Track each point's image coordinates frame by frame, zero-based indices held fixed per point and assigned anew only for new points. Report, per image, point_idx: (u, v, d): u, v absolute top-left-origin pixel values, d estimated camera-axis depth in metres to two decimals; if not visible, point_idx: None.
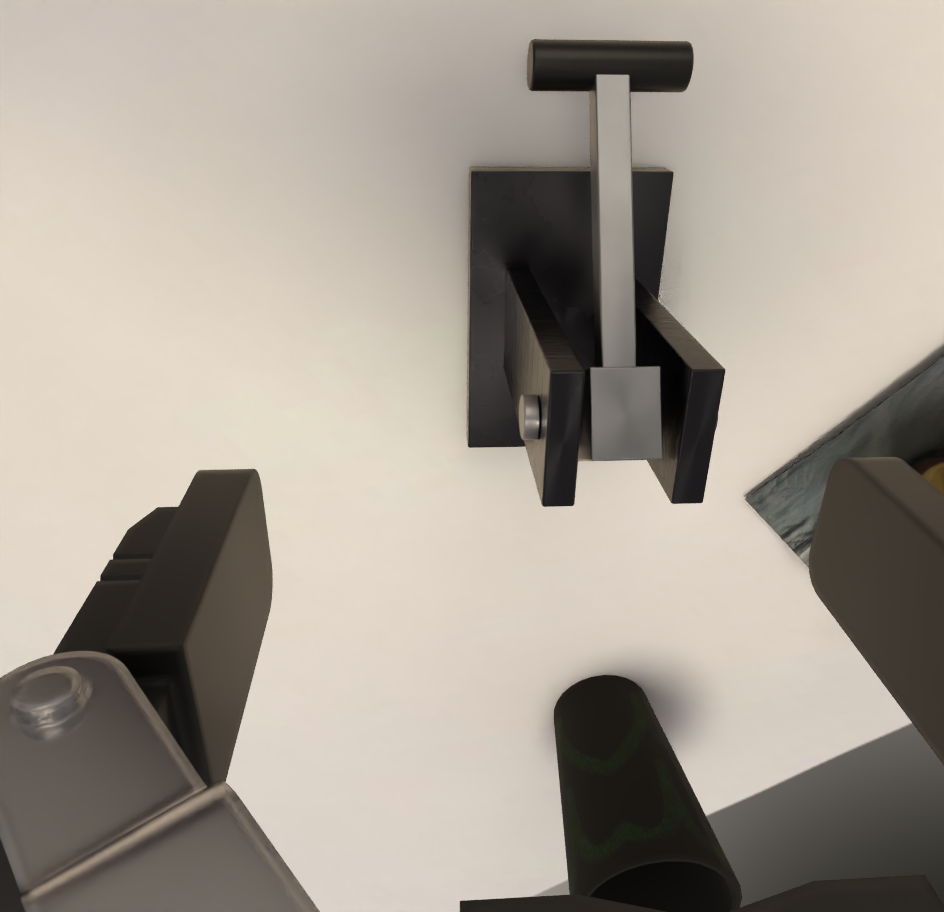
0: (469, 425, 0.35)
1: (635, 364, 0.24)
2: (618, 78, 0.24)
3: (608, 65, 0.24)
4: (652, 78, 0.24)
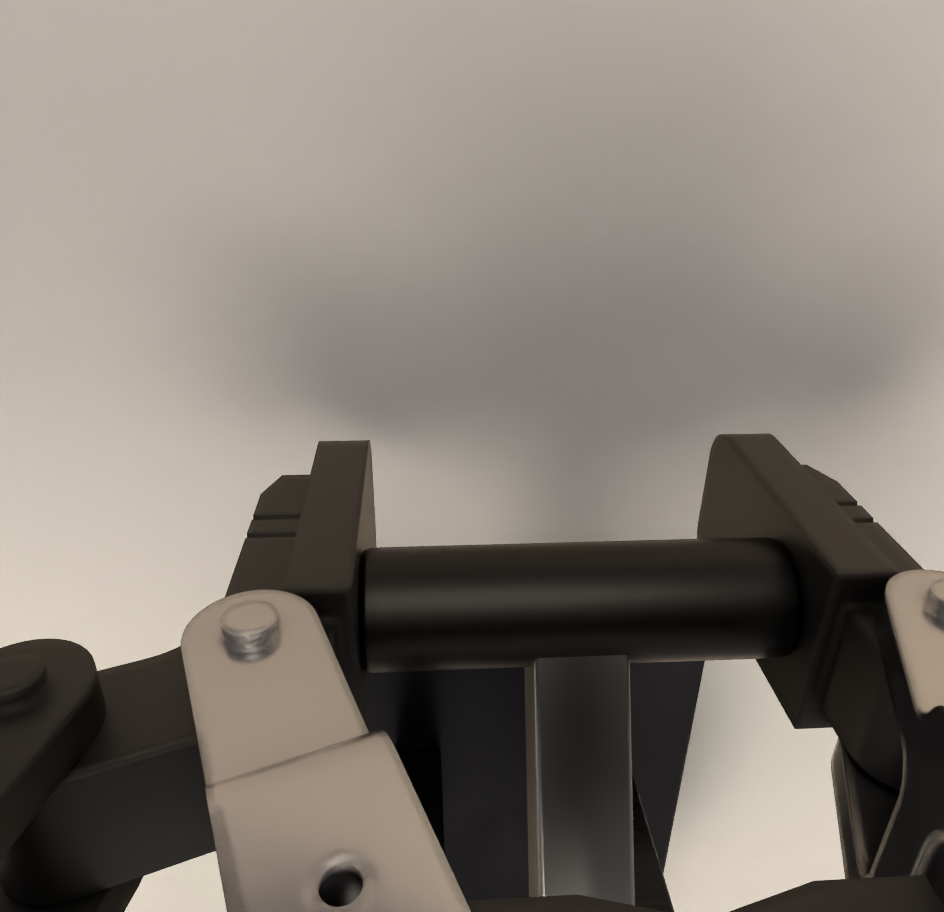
0: None
1: None
2: (597, 667, 0.09)
3: (569, 632, 0.09)
4: (689, 655, 0.09)
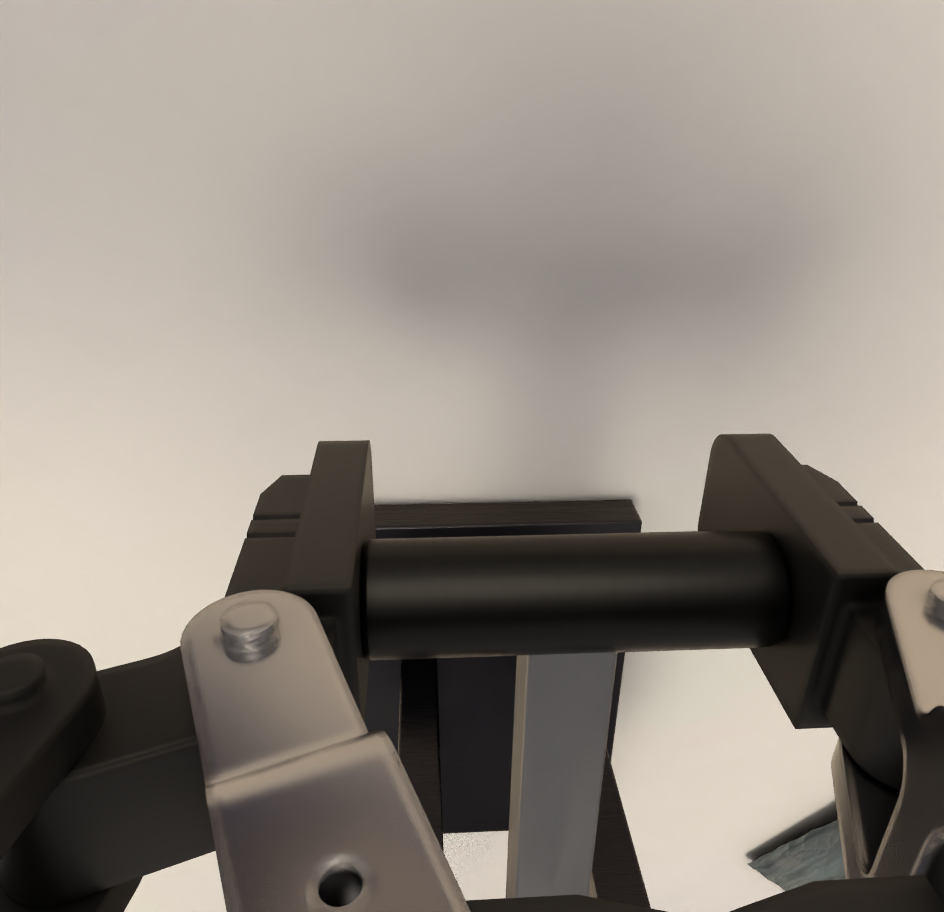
0: None
1: None
2: (586, 661, 0.09)
3: (563, 636, 0.09)
4: None
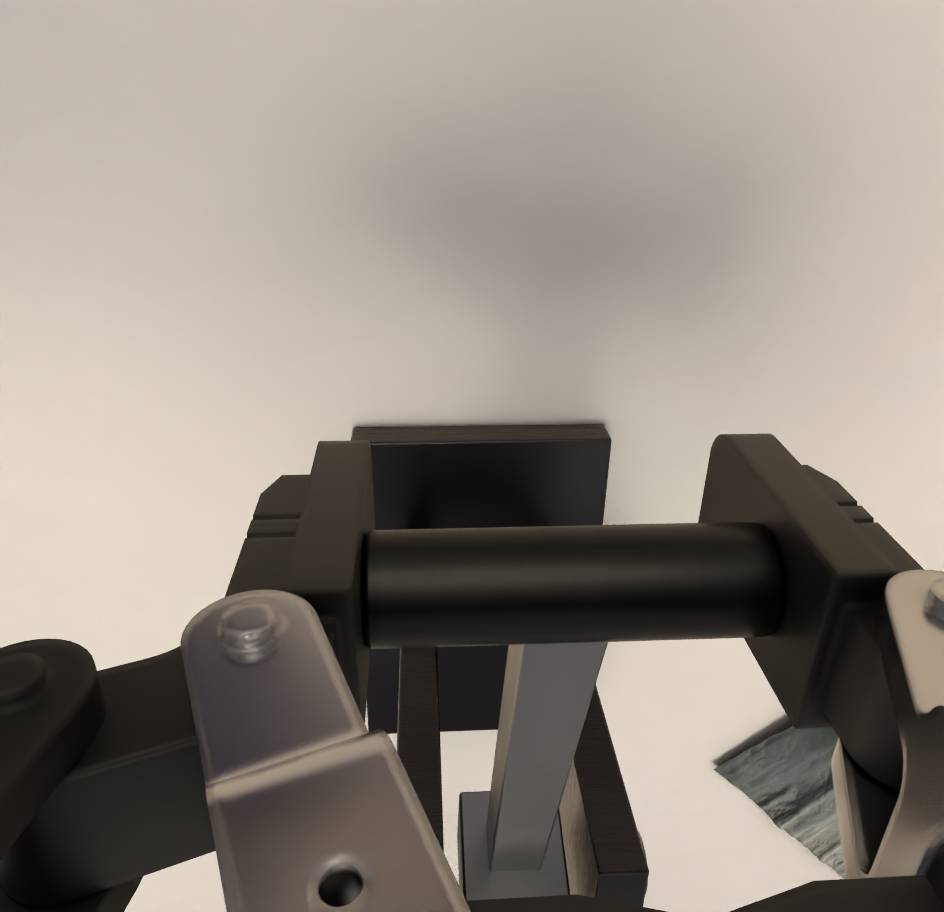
0: (368, 711, 0.28)
1: (539, 867, 0.16)
2: (579, 646, 0.10)
3: None
4: None
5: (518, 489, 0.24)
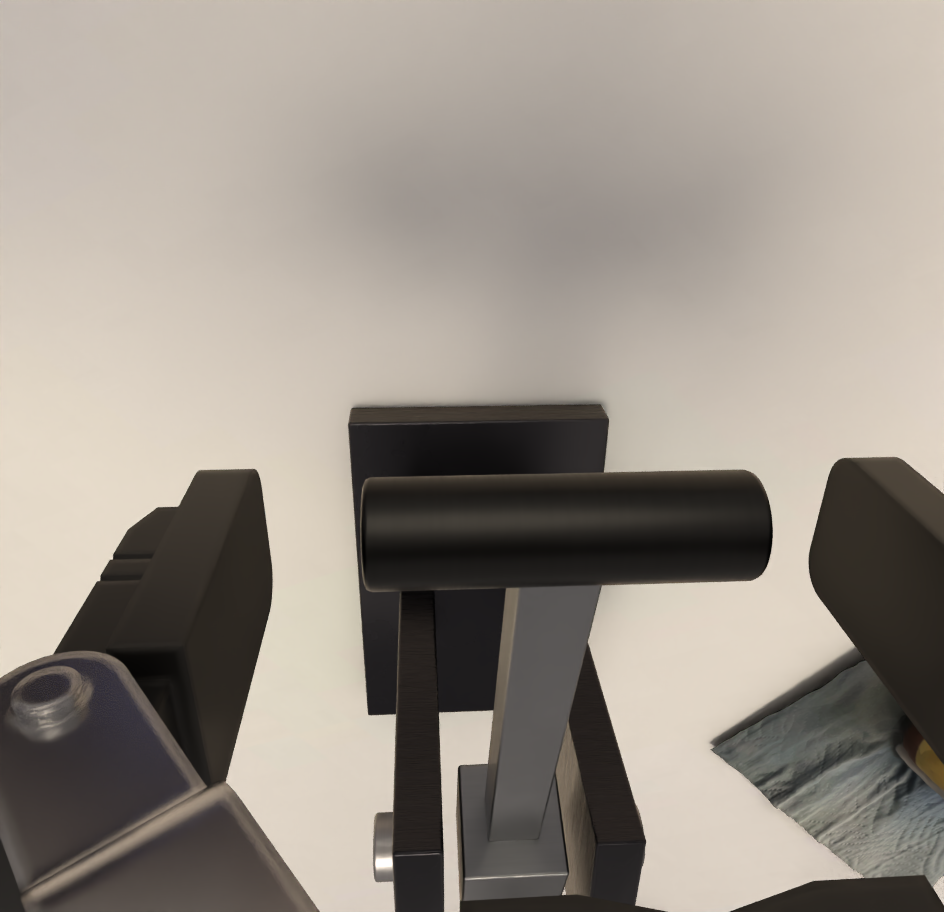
0: (367, 692, 0.28)
1: (537, 836, 0.16)
2: (573, 591, 0.10)
3: (552, 572, 0.10)
4: None
5: (516, 469, 0.24)
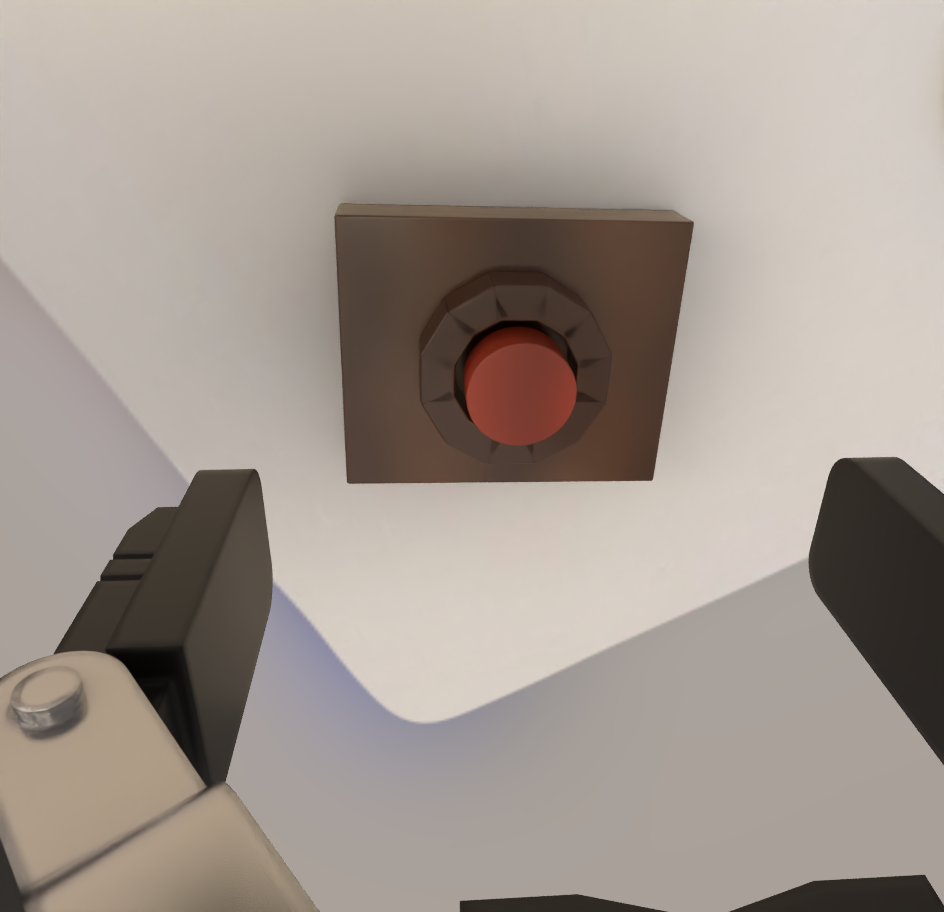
0: None
1: None
2: None
3: None
4: None
5: None
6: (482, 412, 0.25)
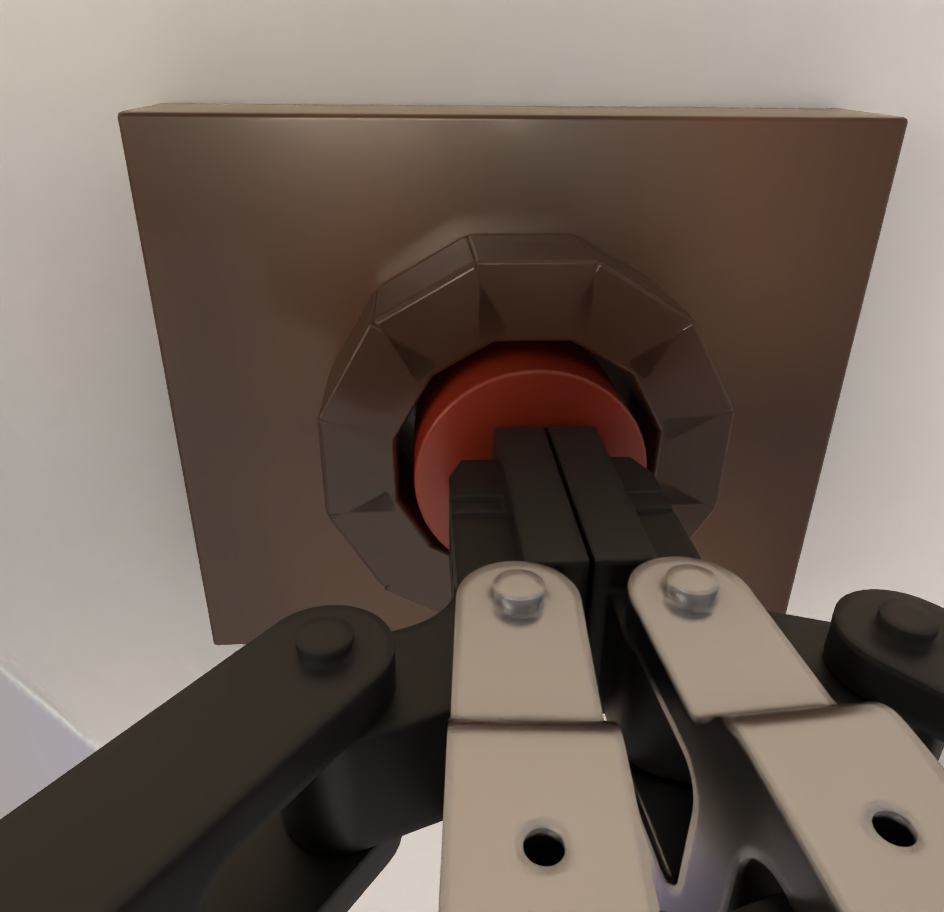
0: None
1: None
2: None
3: None
4: None
5: None
6: None
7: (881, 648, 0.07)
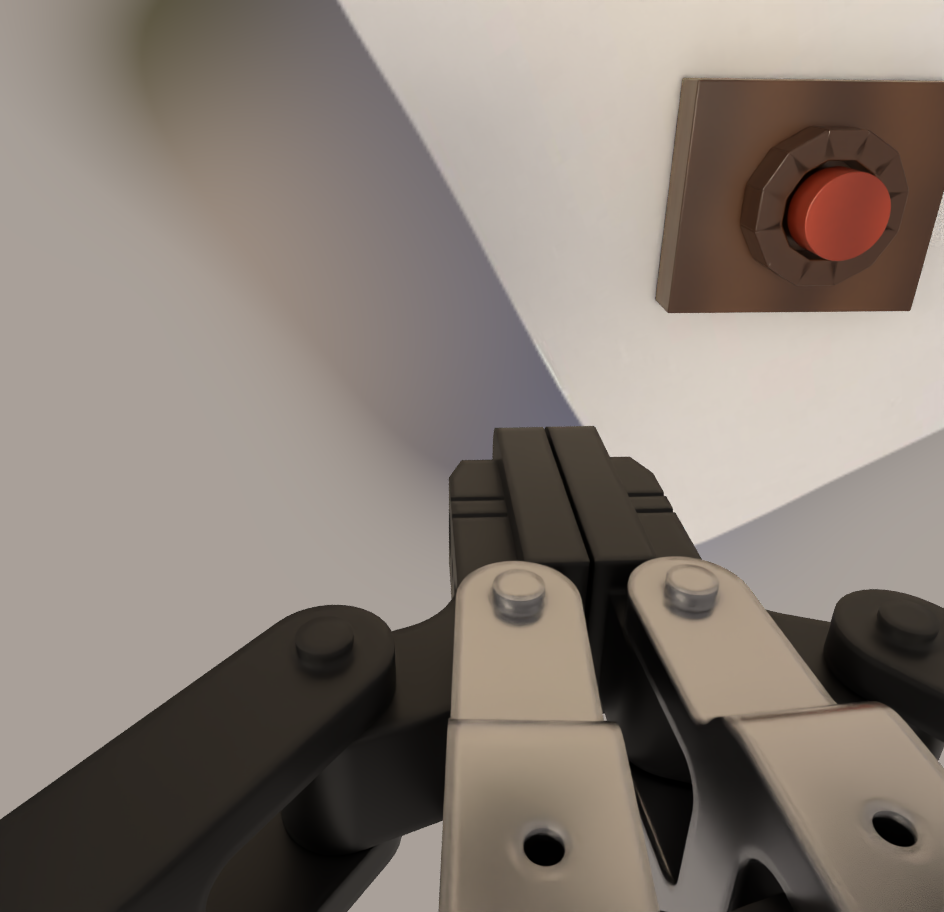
0: None
1: None
2: None
3: None
4: None
5: None
6: (815, 231, 0.32)
7: (881, 648, 0.07)
